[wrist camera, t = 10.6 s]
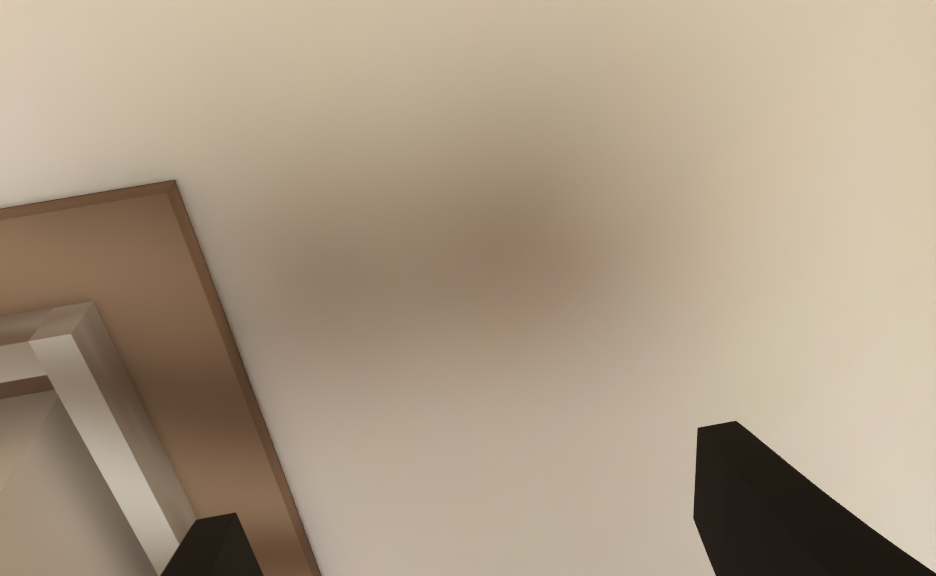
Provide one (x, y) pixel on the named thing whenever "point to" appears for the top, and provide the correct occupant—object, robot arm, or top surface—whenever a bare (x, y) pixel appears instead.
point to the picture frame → (143, 367)
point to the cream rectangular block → (58, 499)
